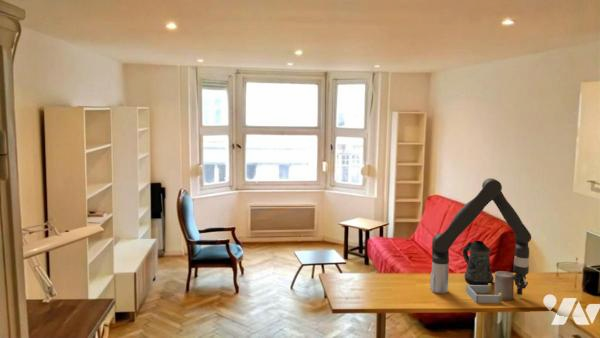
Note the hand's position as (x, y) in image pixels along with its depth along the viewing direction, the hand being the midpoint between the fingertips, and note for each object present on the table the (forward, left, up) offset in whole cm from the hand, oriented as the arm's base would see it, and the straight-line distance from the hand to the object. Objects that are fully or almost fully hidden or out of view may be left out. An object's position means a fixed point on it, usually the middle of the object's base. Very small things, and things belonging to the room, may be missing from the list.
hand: (519, 294), depth 247 cm
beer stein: (-15, +25, -2) cm, 29 cm away
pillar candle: (-9, 0, -2) cm, 9 cm away
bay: (-20, 0, -2) cm, 20 cm away
